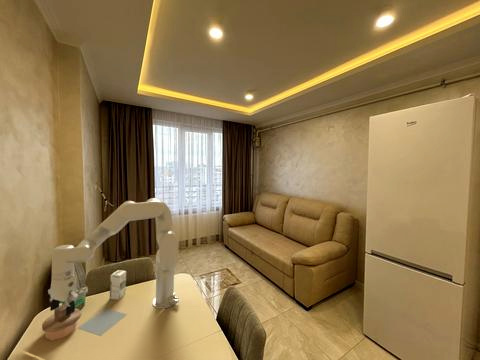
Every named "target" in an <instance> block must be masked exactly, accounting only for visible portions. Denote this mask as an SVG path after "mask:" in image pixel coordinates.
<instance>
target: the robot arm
mask: <svg viewBox="0 0 480 360" xmlns="http://www.w3.org/2000/svg"><path fill="white" fill-rule="evenodd" d="M172 214H173V213H172V211H171V209H170V207H169V206H168V205H167V203H166V202H164V201H162V199H159V198H157V197H156V198H155V197H152V198H149V199H147V200H146V201H143V202H135V201H134V200H133V201H132V200H126V201H125V202H123V203H122V204H121V205H119V206H118V207H117V208H116V209H115V210H114V211H113V212H112V213H111V214H110V215H109V216H107V218H106V219H104V221H102V222H101V223H99V225H98V226H97V227H96V228H94V229H93V230H92V231H91V232H90V233H89V234H88V235H87V236H86V237H84V238H83V240H81V241H80V242H79V244H78V245H77V246H76V247H75V246H74V245H72V244H63V245H59V246H56V247H54V248H53V249H52V253H51V282H50V283H51V284H50V288H49V289H48V290H47V292H48V293H47V294H48V297H49V302H50V307H49V310H50V312H52V311H54V309H56V308H58V307H60V301H62V302H66V304H67V307H66V316H68V315H70V314H71V313H73V312H74V311H75V303H76V302H77V299H78V295H77V290H78V289H77V279H76V275H75V263H85V262H89V261H90V260H91V259H92V258H93V257H94V255H95V253H96V249H98V247H99V246H100V245H102V244H103V243H104V242H105V241H106V240H107V239H108V238H110V237H111V236H114V235H116V234H118V233H119V232H120V231H121V230H122V229H123V228H124V227H125V226H126V225H127V224H128V223H129V222H130V221H131V222H133V221H139V220H146V219H147V220H149V219H153V218H155V224H156V242H157V244H158V248H159V249H158V250H157V251H156V255H155V263H156V265H155V266H156V270H155V273H156V275H155V297H154V299H153V300H152V306H153V308H155V309H161V310H164V309H168V308H170V307H173V305H175V304H176V305H177V304H179V302H180V301H179V298H180V297H179V296H176V292H175V290H174V287H175V286H174V285H175V268H177V265H178V264H179V256H180V255H179V239H178V235H177V234H176V233H175V232H174V224H173V223H174V222H173V215H172ZM68 297H71V298H69V299H68ZM69 300H72V301H71V302H70V303H69ZM62 302H61V303H62Z"/></svg>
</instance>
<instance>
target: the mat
mask: <svg viewBox="0 0 480 360" xmlns="http://www.w3.org/2000/svg"><path fill="white" fill-rule="evenodd" d="M127 315H128V314H127V313H124V312H120V311H117V310H113V309H109V308H107V307H106V308H104V309H103V310H102V311H100V312H98V313H96V315H93V317H91V318H90V319H88V320H86V321H85V322H84V323H82V324H81V325H79V326H78V327H77V329H79V330H82V331H85V332H88V333H91V334H94V335H97V336H100V337H101V336H103V335H104V334H105V333H106V332H108V331H109V330H110V329H111V328H113V327H114V326H115V325H116V324H118V323H119V322H120V321H121V320H122V319H123V318H125V316H127Z"/></svg>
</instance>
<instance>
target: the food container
mask: <svg viewBox="0 0 480 360" xmlns="http://www.w3.org/2000/svg"><path fill="white" fill-rule="evenodd" d="M88 292H89V289H88V286H87V285H86V284H83V286H81V287H80V288H78V289H77V295H78V299H77V302H76V303H75V309H79V310H80V311H82V309H83V308H85V306H86V297H87V293H88ZM69 298H71V297H68V299H69ZM71 301H72V300H69V303H70V302H71ZM60 302H61V305H63V304H66V302H62V301H59V303H60Z"/></svg>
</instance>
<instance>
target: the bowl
mask: <svg viewBox="0 0 480 360" xmlns="http://www.w3.org/2000/svg"><path fill="white" fill-rule="evenodd" d="M78 321H79V319H78V320H77V321H76V322H75V323H74V324H72V325H71V326H69V327H67V328H64V329H62V330H59V331H55V332H45V331H44V332H45V334H44V335H45V336H44V337H45V339H47V340H50V341H55V340H58V339H61V338H66V336H68V335H70V334H71V333H72V332H74V331H75V330H76V329H77V326H78Z"/></svg>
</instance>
